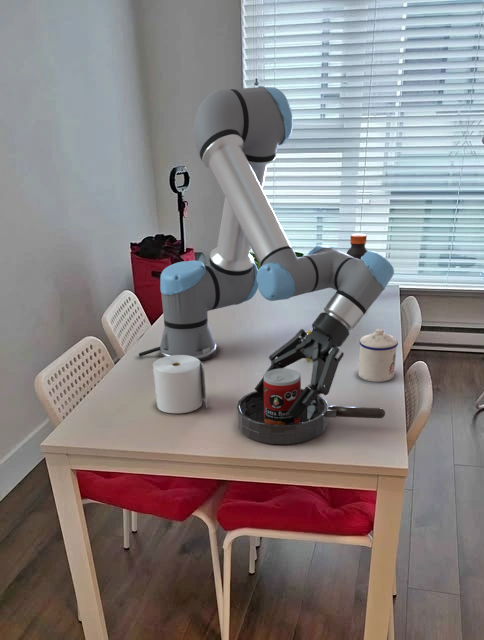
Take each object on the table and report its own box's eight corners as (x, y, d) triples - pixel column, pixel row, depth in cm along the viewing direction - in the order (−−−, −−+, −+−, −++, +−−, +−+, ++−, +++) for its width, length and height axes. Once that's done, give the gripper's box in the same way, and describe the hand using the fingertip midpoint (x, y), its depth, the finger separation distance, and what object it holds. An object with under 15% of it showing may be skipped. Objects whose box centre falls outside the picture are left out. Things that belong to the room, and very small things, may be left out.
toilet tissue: (159, 394, 160) (155, 355, 155) (210, 393, 160) (207, 354, 155) (153, 414, 151) (149, 373, 146) (206, 413, 151) (204, 372, 146)
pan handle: (324, 418, 141) (324, 409, 140) (325, 412, 144) (325, 403, 143) (385, 421, 139) (385, 411, 138) (384, 415, 142) (385, 405, 141)
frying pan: (230, 443, 139) (229, 423, 136) (245, 403, 155) (244, 385, 152) (324, 447, 136) (325, 428, 133) (328, 406, 152) (329, 388, 149)
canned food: (259, 428, 143) (258, 380, 137) (271, 412, 149) (271, 366, 144) (293, 433, 141) (293, 384, 135) (304, 417, 147) (305, 370, 141)
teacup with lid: (397, 382, 162) (402, 335, 156) (359, 383, 162) (362, 336, 156) (389, 363, 172) (393, 319, 166) (353, 364, 173) (356, 320, 166)
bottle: (344, 301, 218) (347, 237, 207) (344, 295, 223) (347, 232, 213) (365, 302, 217) (369, 237, 206) (365, 295, 222) (369, 232, 212)
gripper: (383, 349, 132) (318, 435, 135) (313, 316, 151) (257, 392, 154) (363, 328, 128) (295, 418, 130) (294, 296, 147) (235, 375, 149)
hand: (274, 404), depth 142 cm, fingers open, 13 cm apart
